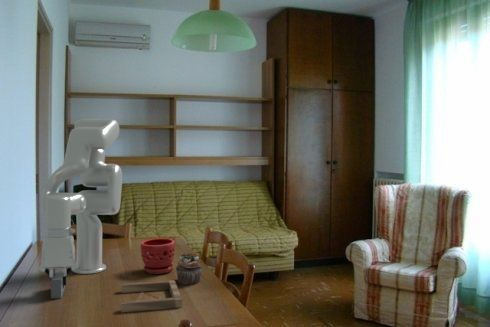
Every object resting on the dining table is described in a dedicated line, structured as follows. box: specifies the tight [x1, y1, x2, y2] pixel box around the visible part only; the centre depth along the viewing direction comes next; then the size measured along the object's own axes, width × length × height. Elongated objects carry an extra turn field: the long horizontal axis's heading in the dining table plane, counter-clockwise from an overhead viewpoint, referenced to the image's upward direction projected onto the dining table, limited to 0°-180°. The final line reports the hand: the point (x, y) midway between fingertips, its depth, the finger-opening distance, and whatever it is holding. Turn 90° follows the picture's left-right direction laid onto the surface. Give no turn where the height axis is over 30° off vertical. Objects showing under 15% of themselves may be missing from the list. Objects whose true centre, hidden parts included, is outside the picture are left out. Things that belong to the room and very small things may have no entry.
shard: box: [135, 291, 160, 301], centre depth 141 cm, size 11×8×2 cm
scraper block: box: [50, 268, 66, 299], centre depth 146 cm, size 12×3×6 cm, turn 16°
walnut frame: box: [120, 279, 183, 313], centre depth 142 cm, size 20×18×2 cm
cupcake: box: [175, 253, 203, 285], centre depth 161 cm, size 10×10×10 cm
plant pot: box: [140, 237, 176, 275], centre depth 174 cm, size 13×13×12 cm
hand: (58, 287), depth 147 cm, fingers closed on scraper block, 2 cm apart
